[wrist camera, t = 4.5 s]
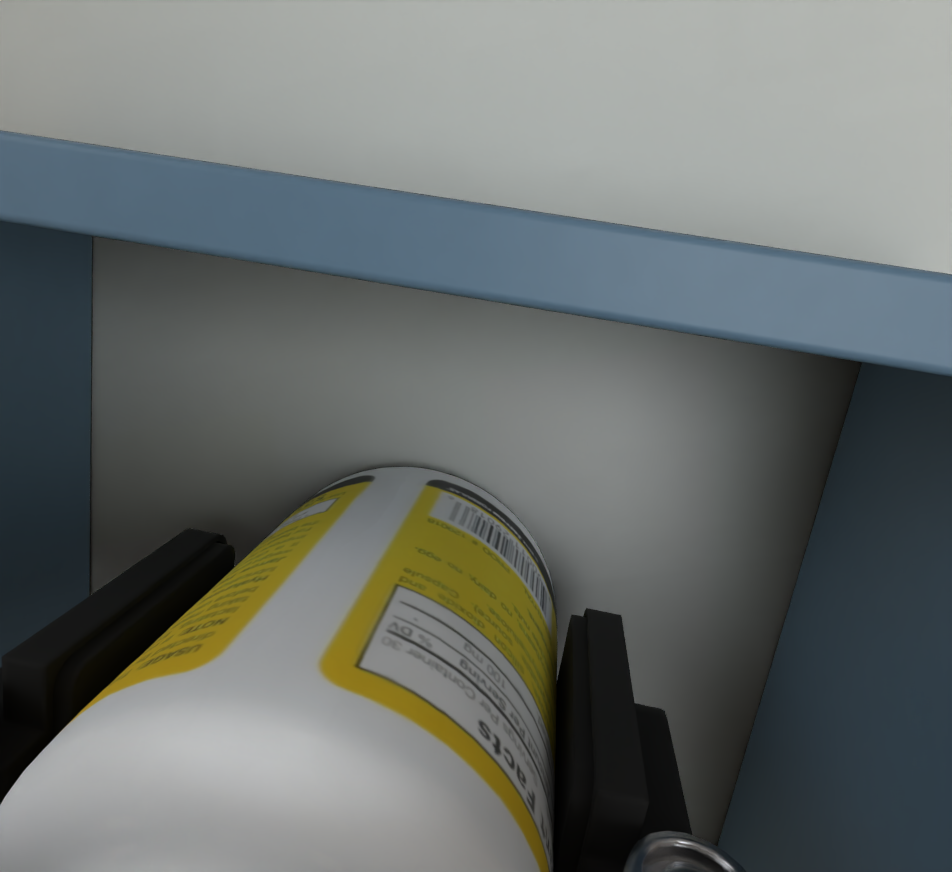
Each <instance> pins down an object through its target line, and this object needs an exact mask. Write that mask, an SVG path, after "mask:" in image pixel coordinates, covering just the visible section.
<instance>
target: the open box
mask: <svg viewBox="0 0 952 872" xmlns="http://www.w3.org/2000/svg"><path fill="white" fill-rule="evenodd" d="M92 236H96V237H103V238H109V239H115V240H121V241H127V242H133V243H139V244H145V245H151V246H157V247H164V248H170V249H176V250H182V251H188V252H194V253H200V254H206V255H212V256H218V257H224V258H231V259H237V260H243V261H249V262H255V263H261V264H267V265H273V266H279V267H285V268H292V269H298V270H304V271H310V272H316V273H322V274H328V275H334V276H340V277H346V278H353V279H359V280H365V281H371V282H377V283H383V284H389V285H395V286H401V287H407V288H413V289H420V290H426V291H432V292H438V293H444V294H450V295H456V296H462V297H468V298H474V299H481V300H487V301H493V302H499V303H505V304H511V305H517V306H523V307H529V308H535V309H541V310H548V311H554V312H560V313H566V314H572V315H578V316H584V317H590V318H596V319H602V320H609V321H615V322H621V323H627V324H633V325H639V326H645V327H651V328H657V329H663V330H670V331H676V332H682V333H688V334H694V335H700V336H706V337H712V338H718V339H724V340H730V341H737V342H743V343H749V344H755V345H761V346H767V347H773V348H779V349H785V350H791V351H798V352H804V353H810V354H816V355H822V356H828V357H834V358H840V359H846V360H852V361H859V362H862V365H861V368H860V371H859V375H858V378H857V381H856V385H855V388H854V391H853V395H852V398H851V402H850V405H849V408H848V412H847V415H846V418H845V422H844V425H843V428H842V432H841V435H840V438H839V442H838V445H837V448H836V452H835V455H834V458H833V462H832V465H831V468H830V472H829V475H828V478H827V482H826V485H825V488H824V492H823V495H822V498H821V502H820V505H819V508H818V512H817V515H816V518H815V522H814V525H813V528H812V532H811V535H810V538H809V542H808V545H807V548H806V552H805V555H804V558H803V562H802V565H801V568H800V572H799V575H798V578H797V582H796V585H795V589H794V592H793V595H792V599H791V602H790V605H789V609H788V612H787V615H786V619H785V622H784V625H783V629H782V632H781V635H780V639H779V642H778V645H777V649H776V652H775V655H774V659H773V662H772V665H771V669H770V672H769V675H768V679H767V682H766V685H765V689H764V692H763V695H762V699H761V702H760V705H759V709H758V712H757V715H756V719H755V722H754V725H753V729H752V732H751V735H750V739H749V742H748V745H747V749H746V752H745V755H744V759H743V762H742V765H741V769H740V772H739V775H738V779H737V782H736V786H735V789H734V792H733V796H732V799H731V802H730V806H729V809H728V812H727V816H726V819H725V822H724V826H723V829H722V832H721V836H720V839H719V842H718V846H717V847H718V848H720V849H722V850H723V851H725V852H726V853H727V854H729V855H730V856H731V857H732V858H733V859H734V860H735V861H737V862H738V863H739V864H740V865H741V866H742V867H743V868H744V869H745V871H746V872H952V274H945V273H938V272H932V271H925V270H919V269H912V268H905V267H899V266H892V265H886V264H879V263H872V262H866V261H859V260H853V259H846V258H839V257H833V256H826V255H820V254H813V253H806V252H800V251H793V250H787V249H780V248H773V247H767V246H760V245H754V244H747V243H740V242H734V241H727V240H721V239H714V238H707V237H701V236H694V235H688V234H681V233H674V232H668V231H661V230H655V229H648V228H641V227H635V226H628V225H622V224H615V223H608V222H602V221H595V220H589V219H582V218H575V217H569V216H562V215H556V214H549V213H542V212H536V211H529V210H523V209H516V208H509V207H503V206H496V205H490V204H483V203H476V202H470V201H463V200H457V199H450V198H443V197H437V196H430V195H424V194H417V193H410V192H404V191H397V190H391V189H384V188H377V187H371V186H364V185H358V184H351V183H344V182H338V181H331V180H325V179H318V178H311V177H305V176H298V175H292V174H285V173H278V172H272V171H265V170H259V169H252V168H245V167H239V166H232V165H226V164H219V163H212V162H206V161H199V160H193V159H186V158H179V157H173V156H166V155H160V154H153V153H146V152H140V151H133V150H127V149H120V148H113V147H107V146H100V145H94V144H87V143H80V142H74V141H67V140H61V139H54V138H47V137H41V136H34V135H28V134H21V133H14V132H8V131H1V130H0V668H1V667H2V656H4V655H5V654H6V653H8V652H9V651H11V650H12V649H14V648H15V647H17V646H18V645H20V644H21V643H22V642H24V641H25V640H27V639H28V638H30V637H31V636H33V635H34V634H35V633H37V632H38V631H40V630H41V629H43V628H44V627H46V626H47V625H48V624H50V623H51V622H53V621H54V620H56V619H57V618H59V617H60V616H62V615H63V614H64V613H66V612H67V611H69V610H70V609H72V608H73V607H75V606H76V605H77V604H79V603H80V602H82V601H83V600H85V599H86V598H88V597H89V581H90V455H91V328H92Z"/></svg>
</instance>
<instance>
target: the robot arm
mask: <svg viewBox="0 0 952 872" xmlns="http://www.w3.org/2000/svg"><path fill="white" fill-rule="evenodd" d="M234 562H235V550H234V547H233V546H232V545H227V542H226V539H225V537H224V536H223V535H221V534H216V533H211V532H206V531H201V530H196V529H191V528H189V529H187V530H185V531H183V532H182V533H180V534H179V535H177V536H176V537H175V538H173V539H172V540H170V541H169V542H167V543H166V544H164V545H163V546H162V547H160V548H159V549H157V550H156V551H154V552H153V553H151V554H150V555H148V556H147V557H146V558H144V559H143V560H141V561H140V562H138V563H137V564H135V565H134V566H133V567H131V568H130V569H128V570H127V571H125V572H124V573H122V574H121V575H119V576H118V577H117V578H115V579H114V580H112V581H111V582H109V583H108V584H106V585H105V586H104V587H102V588H101V589H99V590H98V591H96V592H95V593H93V594H92V595H91V596H89V597H88V598H86V599H85V600H83V601H82V602H80V603H79V604H77V605H76V606H75V607H73V608H72V609H70V610H69V611H67V612H66V613H64V614H63V615H62V616H60V617H59V618H57V619H56V620H54V621H53V622H51V623H50V624H48V625H47V626H46V627H44V628H43V629H41V630H40V631H38V632H37V633H35V634H34V635H33V636H31V637H30V638H28V639H27V640H25V641H24V642H22V643H21V644H20V645H18V646H17V647H15V648H14V649H12V650H11V651H9V652H8V653H6V654H5V655H4V656H2V667H1V668H0V804H1V803H2V801H3V799H4V798H5V796H6V795H7V793H8V792H9V790H10V789H11V788H12V786H13V785H14V784H15V782H16V781H17V780H18V778H19V777H20V775H21V774H22V773H23V771H24V770H25V769H26V768H27V767H28V766H29V765H30V764H31V763H32V761H33V760H34V759H35V758H36V757H37V756H38V755H39V754H40V753H41V752H42V751H43V750H44V748H45V747H46V746H47V745H48V744H49V743H50V742H51V741H52V740H53V739H54V738H55V737H56V736H57V735H58V734H59V733H60V732H61V731H62V730H63V729H64V728H65V727H66V726H67V725H68V723H69V722H70V721H71V720H72V719H73V718H74V717H75V716H76V715H77V714H78V713H79V712H80V711H81V710H82V709H83V708H84V707H85V706H87V705H88V704H89V703H90V702H91V701H92V700H93V699H94V698H95V697H96V696H97V695H98V694H99V693H101V692H102V691H103V690H104V689H105V688H106V687H107V686H108V685H109V684H111V683H112V682H113V681H114V680H115V679H116V678H117V677H118V676H119V675H120V674H121V673H122V672H123V671H124V670H125V669H126V668H127V667H128V666H129V665H131V664H132V663H133V662H134V661H135V660H136V659H137V658H139V657H140V656H141V655H142V654H143V653H144V652H145V651H146V650H147V649H148V648H149V647H150V646H151V645H152V644H153V643H154V642H155V641H156V640H157V639H158V638H159V637H161V636H162V635H163V634H164V633H165V632H166V631H167V630H168V629H169V628H170V627H171V626H172V625H173V624H174V623H175V622H177V621H178V620H179V619H180V618H181V617H182V616H183V615H184V614H185V613H186V612H187V611H188V610H189V609H190V608H192V607H193V606H194V605H195V604H196V603H197V602H198V601H199V600H200V599H201V598H202V597H204V596H205V595H206V594H207V593H208V592H209V591H210V590H211V589H212V588H213V587H214V586H215V585H216V584H217V583H218V582H220V581H221V580H222V579H223V578H224V577H225V576H226V575H227V574H228V573H229V572H230V571H231V570H232V569H233V568H234ZM556 686H557V699H556V755H555V805H554V815H555V819H554V870H553V872H746V871H745V869H744V868H743V867H742V866H741V865H740V864H739V863H738V862H737V861H735V860H734V859H733V858H732V857H731V856H730V855H729V854H727V853H726V852H725V851H723V850H722V849H720V848H718V847H717V846H715V845H713V844H711V843H710V842H708V841H706V840H704V839H701V838H699V837H696V836H693V835H692V832H691V827H690V822H689V818H688V813H687V808H686V804H685V799H684V795H683V790H682V785H681V781H680V776H679V771H678V767H677V762H676V758H675V753H674V748H673V744H672V739H671V734H670V730H669V725H668V720H667V717H666V714H665V711H664V710H662V709H659V708H655V707H650V706H645V705H641V704H636V703H634V697H633V690H632V684H631V677H630V670H629V663H628V657H627V650H626V643H625V637H624V630H623V623H622V617H621V615H617V614H612V613H607V612H603V611H598V610H593V609H588V608H586V610H585V613H584V616H583V617H582V616H577V615H572V616H571V618H570V622H569V627H568V632H567V637H566V641H565V646H564V651H563V656H562V660H561V665H560V670H559V675H558V679H557V684H556Z"/></svg>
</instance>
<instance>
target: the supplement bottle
mask: <svg viewBox="0 0 952 872" xmlns="http://www.w3.org/2000/svg"><path fill="white" fill-rule="evenodd" d="M556 681H557V616H556V604H555V595H554V590H553V585H552V580H551V576H550V573H549V570H548V567H547V565H546V562H545V560H544V557H543V555H542V554H541V552H540V550H539V548H538V546H537V544H536V542H535V541H534V539H533V538H532V536H531V535H530V533H529V531H528V530H527V529H526V528H525V527H524V525H523V524H522V523H521V522H520V521H519V519H518V518H517V517H516V516H515V515H514V514H513V513H512V512H511V511H510V510H509V509H508V508H507V507H505V506H504V505H503V504H502V503H501V502H499V501H498V500H497V499H496V498H494V497H493V496H492V495H490V494H489V493H487V492H486V491H484V490H482V489H481V488H479V487H477V486H475V485H473V484H471V483H469V482H467V481H465V480H462V479H460V478H458V477H455V476H452V475H449V474H446V473H442V472H438V471H434V470H430V469H423V468H416V467H386V468H378V469H373V470H367V471H363V472H360V473H356V474H353V475H351V476H348V477H345V478H343V479H341V480H339V481H337V482H335V483H333V484H331V485H329V486H327V487H326V488H324V489H322V490H321V491H319V492H318V493H316V494H315V495H314V496H312V497H311V498H310V499H308V500H307V501H306V502H305V503H303V504H302V505H301V506H300V507H298V508H297V509H296V510H295V511H294V512H293V513H292V514H291V515H290V516H289V517H288V518H287V519H285V520H284V521H283V522H282V523H281V524H280V525H279V526H278V527H277V528H276V529H275V530H274V531H273V532H272V533H271V534H270V535H269V536H267V537H266V538H265V539H264V540H263V541H262V542H261V543H260V544H259V545H258V546H257V547H256V548H255V549H254V550H253V551H252V552H251V553H249V554H248V555H247V556H246V557H245V558H244V559H243V560H242V561H241V562H240V563H239V564H238V565H237V566H236V567H234V568H233V569H232V570H231V571H230V572H229V573H228V574H227V575H226V576H225V577H224V578H223V579H222V580H221V581H220V582H218V583H217V584H216V585H215V586H214V587H213V588H212V589H211V590H210V591H209V592H208V593H207V594H206V595H205V596H204V597H202V598H201V599H200V600H199V601H198V602H197V603H196V604H195V605H194V606H193V607H192V608H190V609H189V610H188V611H187V612H186V613H185V614H184V615H183V616H182V617H181V618H180V619H179V620H178V621H177V622H175V623H174V624H173V625H172V626H171V627H170V628H169V629H168V630H167V631H166V632H165V633H164V634H163V635H162V636H161V637H159V638H158V639H157V640H156V641H155V642H154V643H153V644H152V645H151V646H150V647H149V648H148V649H147V650H146V651H145V652H144V653H143V654H142V655H141V656H140V657H139V658H137V659H136V660H135V661H134V662H133V663H132V664H131V665H129V666H128V667H127V668H126V669H125V670H124V671H123V672H122V673H121V674H120V675H119V676H118V677H117V678H116V679H115V680H114V681H113V682H112V683H111V684H109V685H108V686H107V687H106V688H105V689H104V690H103V691H102V692H101V693H99V694H98V695H97V696H96V697H95V698H94V699H93V700H92V701H91V702H90V703H89V704H88V705H87V706H85V707H84V708H83V709H82V710H81V711H80V712H79V713H78V714H77V715H76V716H75V717H74V718H73V719H72V720H71V721H70V722H69V723H68V725H67V726H66V727H65V728H64V729H63V730H62V731H61V732H60V733H59V734H58V735H57V736H56V737H55V738H54V739H53V740H52V741H51V742H50V743H49V744H48V745H47V746H46V747H45V748H44V750H43V751H42V752H41V753H40V754H39V755H38V756H37V757H36V758H35V759H34V760H33V761H32V763H31V764H30V765H29V766H28V767H27V768H26V769H25V770H24V771H23V773H22V774H21V775H20V777H19V778H18V780H17V781H16V782H15V784H14V785H13V786H12V788H11V789H10V790H9V792H8V793H7V795H6V796H5V798H4V799H3V801H2V803H1V804H0V872H553V870H554V819H555V815H554V805H555V755H556V699H557V686H556Z"/></svg>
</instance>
